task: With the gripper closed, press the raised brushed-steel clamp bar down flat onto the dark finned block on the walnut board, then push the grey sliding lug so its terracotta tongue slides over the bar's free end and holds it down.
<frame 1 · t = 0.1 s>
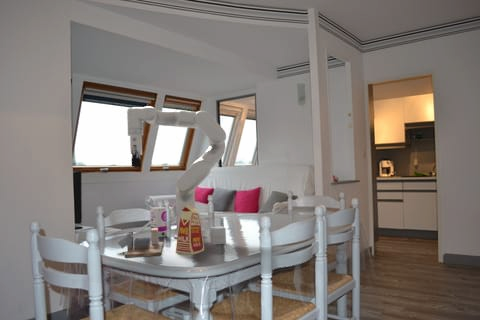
hand: (136, 166, 188), 37 cm above the table, tool pointing down, fingers open, 9 cm apart
walnut board: (145, 250, 162), on the table
finned block: (142, 250, 162), resting on walnut board
lug slider: (154, 236, 168), point 5 cm above the table, slide at 0.0 cm
clamp bar: (136, 233, 161), point 8 cm above the table, hinge at 35.0°
hinge post: (130, 251, 161), resting on walnut board
milk carton: (190, 252, 157), on the table
white product box: (159, 236, 197), on the table
skincare box: (218, 243, 173), on the table
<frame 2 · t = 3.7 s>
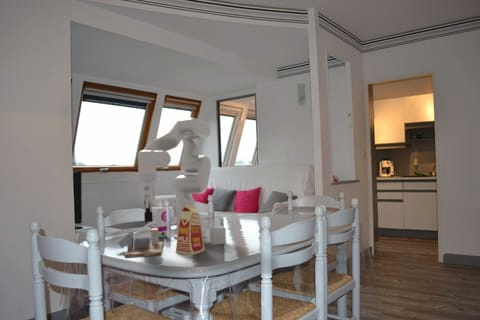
hand: (148, 221, 162), 12 cm above the table, tool pointing down, fingers closed
clamp bar: (136, 233, 161), point 8 cm above the table, hinge at 33.8°, touching gripper
everything else where it was.
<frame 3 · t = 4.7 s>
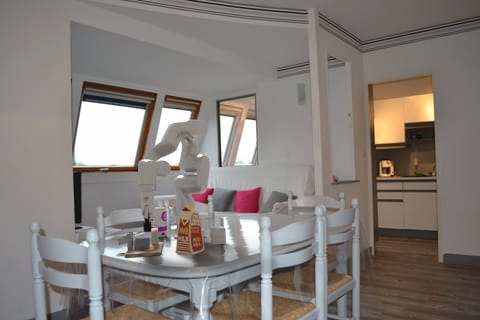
hand: (147, 231, 161), 8 cm above the table, tool pointing down, fingers closed
clamp bar: (137, 235, 162), point 7 cm above the table, hinge at 13.2°, touching gripper
everything else where it was.
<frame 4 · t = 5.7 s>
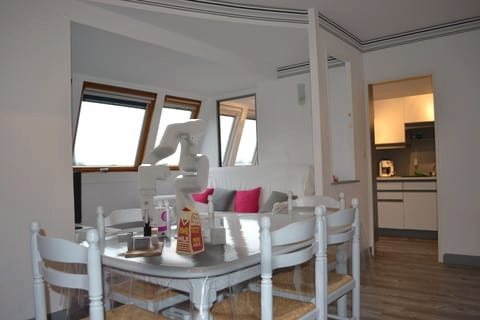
hand: (147, 236, 161), 6 cm above the table, tool pointing down, fingers closed
clamp bar: (137, 237, 162), point 6 cm above the table, hinge at 0.3°, touching gripper
everything else where it was.
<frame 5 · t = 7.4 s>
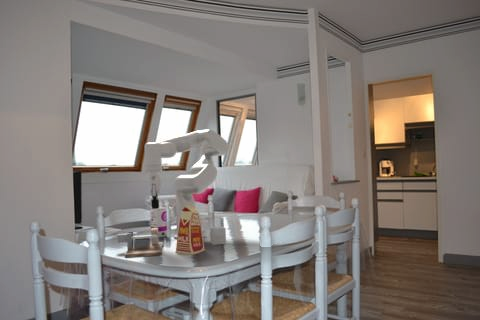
hand: (155, 208, 175), 17 cm above the table, tool pointing down, fingers closed
clamp bar: (137, 237, 162), point 6 cm above the table, hinge at 0.2°
everything else where it was.
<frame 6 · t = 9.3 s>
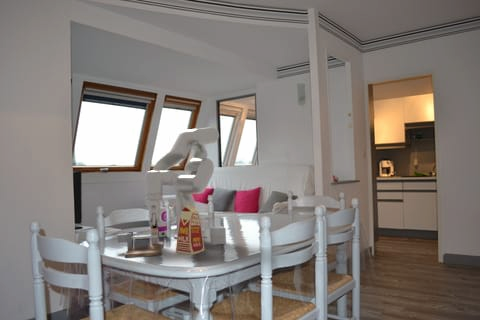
hand: (155, 237, 173), 4 cm above the table, tool pointing down, fingers closed
lug slider: (154, 236, 167), point 5 cm above the table, slide at 0.4 cm, touching gripper
everything else where it was.
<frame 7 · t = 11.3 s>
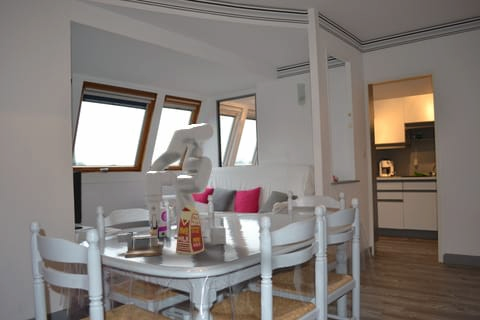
hand: (155, 239, 171), 3 cm above the table, tool pointing down, fingers closed
lug slider: (153, 238, 164), point 5 cm above the table, slide at 4.4 cm
everything else where it was.
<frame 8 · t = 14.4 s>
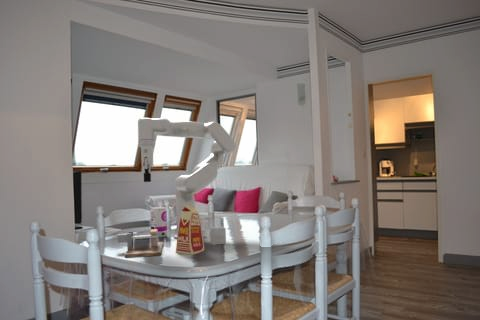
hand: (147, 181, 181), 29 cm above the table, tool pointing down, fingers closed
nothing on the table moved.
at the end: clamp bar at +0° (first picture: +35°); lug slider slide at 4.4 cm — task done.
